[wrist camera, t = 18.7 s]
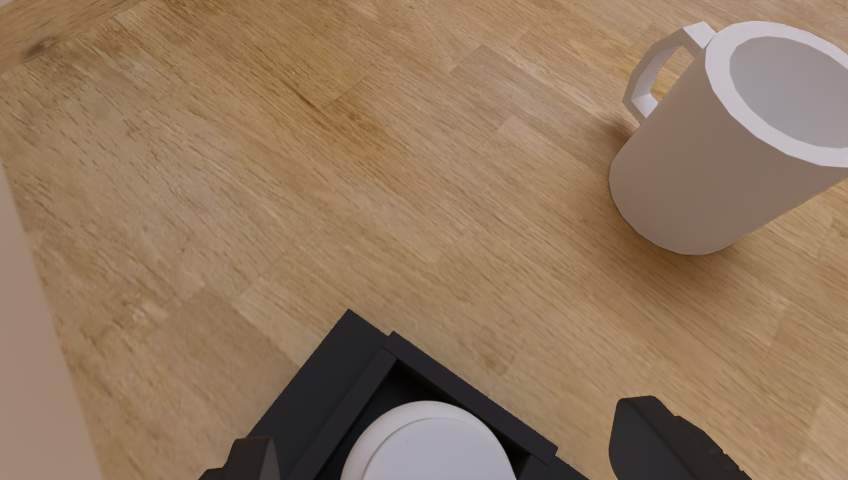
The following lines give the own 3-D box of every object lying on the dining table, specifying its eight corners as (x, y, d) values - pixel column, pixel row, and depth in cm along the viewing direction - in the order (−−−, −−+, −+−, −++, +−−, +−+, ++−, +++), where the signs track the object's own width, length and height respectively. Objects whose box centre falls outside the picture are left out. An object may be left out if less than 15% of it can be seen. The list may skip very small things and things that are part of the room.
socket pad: (493, 691, 20) (520, 745, 16) (226, 468, 22) (198, 472, 19) (584, 480, 24) (621, 486, 20) (349, 312, 26) (345, 291, 23)
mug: (558, 129, 34) (629, 5, 25) (656, 94, 37) (754, -30, 27) (666, 277, 30) (806, 196, 20) (769, 225, 32) (935, 131, 23)
